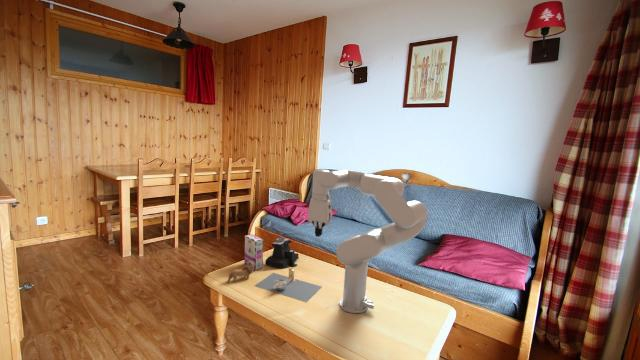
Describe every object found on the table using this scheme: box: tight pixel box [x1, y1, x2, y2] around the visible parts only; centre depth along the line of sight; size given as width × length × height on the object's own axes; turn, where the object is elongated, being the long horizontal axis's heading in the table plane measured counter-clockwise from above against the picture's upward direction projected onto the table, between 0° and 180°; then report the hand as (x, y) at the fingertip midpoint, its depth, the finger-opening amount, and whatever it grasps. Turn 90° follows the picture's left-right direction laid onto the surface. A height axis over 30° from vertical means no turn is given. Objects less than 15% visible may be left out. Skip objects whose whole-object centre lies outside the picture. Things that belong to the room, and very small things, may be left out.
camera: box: [265, 237, 300, 270], centre depth 177 cm, size 16×14×15 cm
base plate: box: [254, 272, 323, 303], centre depth 150 cm, size 28×16×1 cm, turn 64°
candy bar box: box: [244, 233, 264, 271], centre depth 171 cm, size 11×5×16 cm, turn 44°
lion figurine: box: [227, 261, 254, 284], centre depth 154 cm, size 15×5×9 cm, turn 133°
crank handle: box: [273, 267, 295, 291], centre depth 149 cm, size 16×6×5 cm, turn 155°
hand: (318, 235), depth 145 cm, fingers closed
